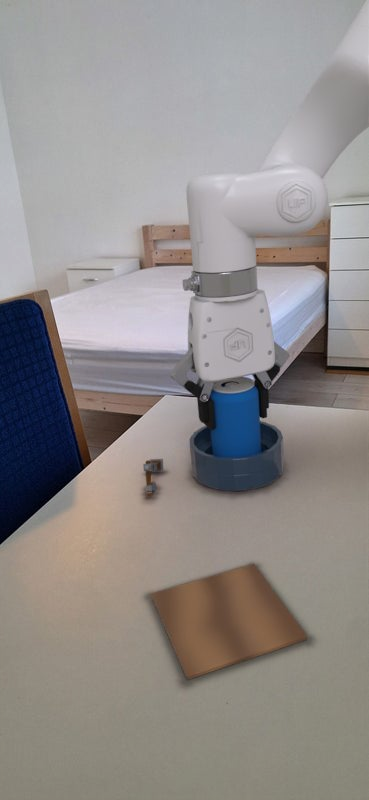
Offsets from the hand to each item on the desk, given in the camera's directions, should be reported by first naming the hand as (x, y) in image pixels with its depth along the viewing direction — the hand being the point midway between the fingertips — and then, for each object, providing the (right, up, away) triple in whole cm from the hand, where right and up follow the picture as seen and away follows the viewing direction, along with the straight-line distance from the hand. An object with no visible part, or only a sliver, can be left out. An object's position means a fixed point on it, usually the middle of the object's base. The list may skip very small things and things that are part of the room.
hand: (234, 419), depth 78 cm
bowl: (+1, -7, +3) cm, 8 cm away
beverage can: (+1, -7, +3) cm, 7 cm away
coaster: (-3, -18, -23) cm, 29 cm away
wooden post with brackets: (-10, -9, +2) cm, 14 cm away
